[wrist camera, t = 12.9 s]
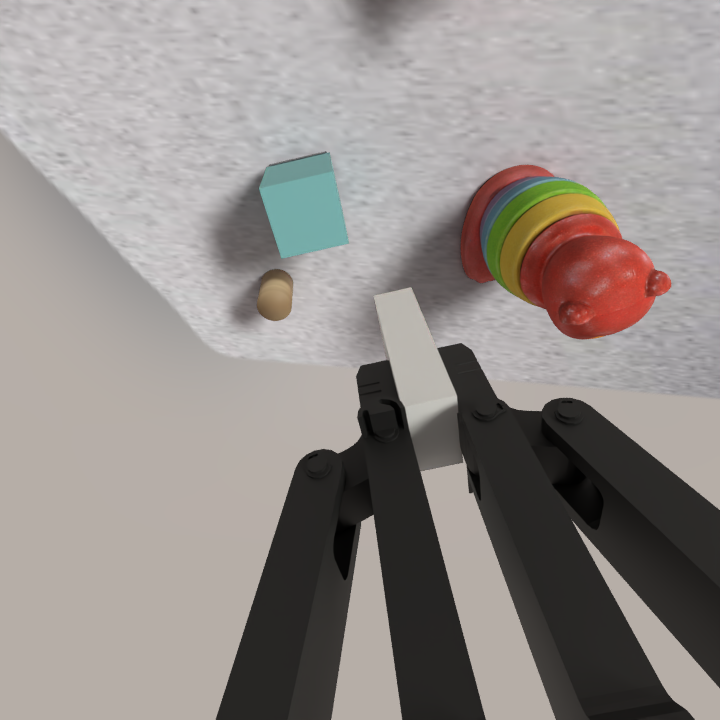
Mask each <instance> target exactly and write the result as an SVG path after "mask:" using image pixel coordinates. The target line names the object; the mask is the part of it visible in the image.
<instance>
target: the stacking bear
mask: <svg viewBox="0 0 720 720" xmlns="http://www.w3.org/2000/svg"><path fill="white" fill-rule="evenodd" d="M461 259H462V264H463V268H464V271H465V273H466V275H467V276H468V277H469V278H470V279H475V280H476V281H477V282H479V283H484V282H487V281H493V280H496V281H497V282H498V283H499V284H500V285H501V286H502V287H504V288H505V289H506V290H507V291H509V292H510V293H512V294H513V295H515V296H517V297H519V298H520V299H522V300H524V301H526V302H528V303H530V304H532V305H535V306H538V307H541V308H544V309H546V310H547V312H548V314H549V316H550V318H551V320H552V321H553V323H554V324H555V326H556V327H557V328H558V329H559V330H560V331H561V332H562V333H564V334H565V335H567V336H569V337H572V338H576V339H594V338H599V337H603V336H606V335H610V334H614V333H616V332H619V331H622V330H624V329H626V328H628V327H630V326H632V325H633V324H635V323H636V322H638V321H639V320H640V319H641V318H642V317H643V316H644V315H645V314H646V313H647V312H648V311H649V309H650V308H651V306H652V304H653V302H654V300H655V297H656V296H659V295H662V294H664V293H666V292H667V291H668V290H669V289H670V287H671V280H670V278H669V276H668V275H667V274H665V273H664V272H662V271H657V270H655V268H654V265H653V263H652V261H651V259H650V258H649V257H648V255H647V254H646V253H645V252H644V251H643V250H642V249H640V248H639V247H638V246H636V245H635V244H633V243H631V242H629V241H626V240H624V239H622V236H621V234H620V231H619V228H618V225H617V223H616V221H615V219H614V218H613V216H612V215H611V213H610V212H609V211H608V209H607V208H606V206H605V205H604V203H603V202H602V201H601V200H600V199H599V198H598V197H597V196H596V195H595V194H594V193H593V192H591V191H590V190H589V189H588V188H586V187H584V186H583V185H580V184H579V183H577V182H574V181H571V180H568V179H564V178H559V177H554V176H553V175H552V174H551V173H550V172H549V171H547V170H545V169H543V168H541V167H538V166H534V165H519V166H514V167H511V168H508V169H505V170H503V171H501V172H499V173H498V174H496V175H495V176H493V177H492V178H491V179H489V180H488V181H487V182H486V183H485V184H484V185H483V186H482V187H481V188H480V190H479V191H478V192H477V194H476V195H475V197H474V199H473V201H472V203H471V205H470V207H469V210H468V212H467V215H466V218H465V221H464V225H463V230H462V235H461Z"/></svg>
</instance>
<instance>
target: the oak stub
mask: <svg viewBox="0 0 720 720" xmlns="http://www.w3.org/2000/svg"><path fill="white" fill-rule="evenodd" d="M292 294H293V280H292V278H291V276H290V275H289V274H288V273H287V272H285V271H283V270H279V269H274V270H270V271H268V272H267V273H265V274H264V276H263V278H262V281H261V286H260V291H259V296H258V301H257V308H258V311H259V313H260V314H261V315H262V316H263V317H264V318H266V319H268V320H272V321H279V320H282V319H284V318H286V317H287V316H288V315H289V314H290V312H291V308H292Z"/></svg>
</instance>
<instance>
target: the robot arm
mask: <svg viewBox="0 0 720 720" xmlns="http://www.w3.org/2000/svg"><path fill="white" fill-rule="evenodd" d="M374 301H375V306H376V310H377V315H378V320H379V325H380V330H381V335H382V340H383V345H384V350H385V354H386V358H387V360H385V361H381V362H376V363H371V364H367V365H362V366H360V369H359V371H358V373H357V376H356V378H357V385H358V393H359V399H360V407H361V408H360V409H359V411H358V417H357V418H358V422H359V425H360V429H361V433H362V435H361V437H360V439H359V440H358V442H356V444H354V445H353V446H352V447H350V448H348V449H347V450H345V451H343V452H341V453H339V454H337V453H336V452H334V451H332V450H326V449H321V450H316V451H313V452H311V453H309V454H307V455H306V456H305V457H303V458H302V459H301V460H300V461H299V463H298V465H297V467H296V469H295V472H294V475H293V478H292V481H291V484H290V487H289V491H288V494H287V497H286V500H285V503H284V506H283V510H282V513H281V516H280V519H279V522H278V525H277V529H276V532H275V535H274V538H273V541H272V544H271V548H270V550H269V554H268V557H267V560H266V563H265V566H264V569H263V573H262V576H261V579H260V582H259V585H258V588H257V591H256V595H255V598H254V601H253V604H252V607H251V610H250V614H249V617H248V620H247V623H246V626H245V629H244V632H243V636H242V639H241V642H240V645H239V648H238V651H237V654H236V658H235V661H234V664H233V667H232V670H231V673H230V676H229V680H228V683H227V686H226V689H225V692H224V695H223V698H222V702H221V705H220V708H219V711H218V714H217V717H216V720H331V717H332V710H333V703H334V697H335V691H336V683H337V678H338V671H339V665H340V657H341V651H342V644H343V638H344V632H345V626H346V619H347V613H348V606H349V600H350V593H351V587H352V580H353V574H354V567H355V561H356V554H357V548H358V541H359V535H360V528H361V521H363V520H365V519H366V518H368V517H370V516H372V515H374V520H375V527H376V534H377V542H378V549H379V556H380V563H381V570H382V577H383V585H384V591H385V599H386V606H387V613H388V620H389V628H390V635H391V642H392V648H393V656H394V663H395V670H396V677H397V685H398V692H399V698H400V706H401V713H402V720H486V719H485V715H484V712H483V708H482V704H481V700H480V696H479V693H478V689H477V685H476V681H475V677H474V674H473V670H472V666H471V662H470V659H469V655H468V651H467V647H466V643H465V639H464V636H463V632H462V628H461V624H460V621H459V617H458V613H457V609H456V605H455V601H454V598H453V594H452V590H451V586H450V583H449V579H448V575H447V571H446V568H445V564H444V560H443V556H442V552H441V549H440V545H439V541H438V537H437V533H436V529H435V526H434V522H433V518H432V514H431V510H430V507H429V503H428V499H427V496H426V491H425V488H424V484H423V480H422V476H421V472H420V471H425V470H429V469H434V468H439V467H444V466H449V465H454V464H459V463H463V457H462V454H463V456H464V459H465V462H466V464H467V475H468V486H469V493H474V495H475V498H476V501H477V504H478V506H479V509H480V512H481V515H482V518H483V520H484V523H485V525H486V529H487V531H488V534H489V536H490V540H491V542H492V545H493V548H494V551H495V553H496V556H497V559H498V561H499V564H500V567H501V570H502V573H503V575H504V577H505V581H506V583H507V586H508V589H509V591H510V594H511V597H512V600H513V603H514V605H515V608H516V611H517V614H518V616H519V619H520V622H521V625H522V627H523V630H524V633H525V636H526V639H527V641H528V644H529V647H530V650H531V652H532V655H533V658H534V661H535V663H536V666H537V669H538V672H539V674H540V677H541V680H542V682H543V685H544V688H545V691H546V693H547V696H548V699H549V702H550V704H551V707H552V710H553V713H554V715H555V718H556V720H695V719H694V718H693V717H692V716H691V714H690V713H689V712H688V711H687V710H686V709H684V708H683V707H682V706H680V705H679V704H677V703H676V702H675V701H673V700H672V698H671V697H670V696H669V695H668V694H667V692H666V690H665V689H664V687H663V686H662V684H661V682H660V680H659V678H658V677H657V675H656V673H655V671H654V669H653V667H652V666H651V664H650V662H649V660H648V658H647V656H646V655H645V653H644V651H643V649H642V647H641V646H640V644H639V642H638V640H637V638H636V637H635V635H634V633H633V631H632V629H631V627H630V626H629V624H628V622H627V620H626V618H625V617H624V615H623V613H622V611H621V609H620V607H619V606H618V604H617V602H616V600H615V598H614V596H613V595H612V593H611V591H610V589H609V587H608V586H607V584H606V582H605V580H604V578H603V577H602V575H601V573H600V571H599V569H598V567H597V566H596V564H595V562H594V561H593V558H592V557H591V555H590V553H589V551H588V549H587V547H586V545H585V544H584V542H583V540H582V538H581V537H580V535H579V533H578V531H577V529H576V527H575V525H574V524H573V522H574V523H575V524H576V525H577V526H578V528H579V529H580V530H581V531H582V532H583V533H584V534H585V535H586V536H587V538H588V539H589V540H590V541H591V542H592V543H593V544H594V546H595V547H596V548H597V549H598V550H599V551H600V553H601V554H602V555H603V556H604V557H605V558H606V559H607V560H608V562H610V564H611V565H612V566H613V567H614V568H615V570H616V571H617V572H618V573H619V574H620V575H621V576H622V577H623V579H624V580H625V581H626V582H627V583H628V584H629V586H630V587H631V588H632V589H633V590H634V591H635V592H636V593H637V595H638V596H639V597H640V598H641V599H642V600H643V601H644V603H645V604H646V605H647V606H648V607H649V608H650V609H651V610H652V612H653V613H654V614H655V615H656V616H657V617H658V618H659V620H660V621H661V622H662V623H663V624H664V625H665V626H666V628H667V629H668V630H669V631H670V632H671V633H672V634H673V636H674V637H675V638H676V639H677V640H678V641H679V642H680V643H681V645H682V646H683V647H684V648H685V649H686V650H687V651H688V652H689V654H690V655H691V656H692V657H693V658H694V659H695V661H696V662H697V663H698V664H699V665H700V666H701V667H702V669H703V670H704V671H705V672H706V673H707V674H708V675H709V676H710V678H711V679H712V680H713V681H714V682H715V683H716V684H717V686H718V687H719V688H720V510H719V509H718V508H716V507H715V506H714V505H713V504H711V503H710V502H709V501H708V500H706V499H705V498H704V497H703V496H701V495H700V494H699V493H697V492H696V491H695V490H694V489H693V488H691V487H690V486H689V485H688V484H687V483H685V482H684V481H683V480H682V479H680V478H679V477H678V476H677V475H675V474H674V473H673V472H672V471H670V470H669V469H668V468H667V467H665V466H664V465H663V464H662V463H661V462H659V461H658V460H657V459H655V458H654V457H653V456H652V455H651V454H649V453H648V452H647V451H646V450H644V449H643V448H642V447H641V446H639V445H638V444H637V443H636V442H634V441H633V440H632V439H631V438H629V437H628V436H627V435H626V434H624V433H623V432H622V431H621V430H619V429H618V428H617V427H616V426H614V425H613V424H612V423H611V422H610V421H608V420H607V419H606V418H605V417H603V416H602V415H601V414H600V413H598V412H597V411H596V410H595V409H593V408H592V407H591V406H590V405H588V404H586V403H584V402H583V401H580V400H576V399H573V398H559V399H554V400H551V401H550V402H548V403H547V404H545V406H544V408H543V409H542V411H523V410H516V409H513V408H510V407H509V406H508V405H507V404H506V403H505V402H504V401H502V400H500V399H498V398H497V397H496V395H495V393H494V391H493V389H492V387H491V386H490V384H489V382H488V380H487V378H486V376H485V374H484V372H483V370H481V367H480V365H479V363H478V362H477V359H476V357H475V355H474V353H473V352H472V350H471V349H469V348H468V347H466V346H465V345H463V344H462V343H459V344H455V345H450V346H445V347H441V348H437V347H436V345H435V342H434V340H433V338H432V335H431V333H430V331H429V328H428V326H427V323H426V321H425V319H424V316H423V314H422V312H421V309H420V307H419V304H418V302H417V300H416V297H415V295H414V293H413V290H412V288H411V287H410V288H406V289H401V290H397V291H392V292H388V293H383V294H379V295H374ZM572 521H573V522H572Z"/></svg>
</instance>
